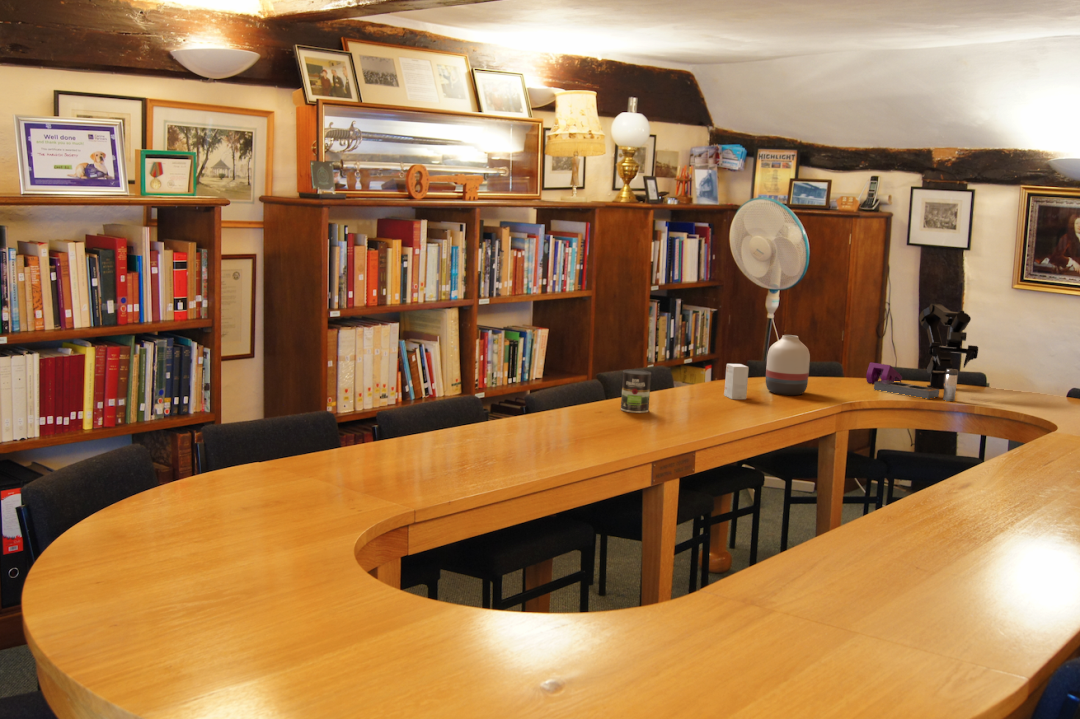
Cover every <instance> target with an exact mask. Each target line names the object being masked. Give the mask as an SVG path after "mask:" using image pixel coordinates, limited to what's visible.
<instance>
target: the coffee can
mask: <svg viewBox="0 0 1080 719" xmlns="http://www.w3.org/2000/svg"><path fill="white" fill-rule="evenodd" d="M651 379H652V372H651V371H647V370H643V369H624V370H622V381H621V382H622V383H621V386H622V387H621V398H620V399H621V400H620V411H622V412H625V413H632V414H645V413H648V412H650V410H649V408H650V392H651V383H652V382H651V381H652V380H651Z"/></svg>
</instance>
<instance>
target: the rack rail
mask: <svg viewBox="0 0 1080 719" xmlns="http://www.w3.org/2000/svg"><path fill="white" fill-rule="evenodd" d="M874 389H875V390H874ZM873 390H874V391H876V390H881V391H880V392H882V391H887V392H886V393H888V392H893V393H899V394H905V395H911V396H916V397H922V398H927V399H929V400H931V399H930V398H933V399H935V398H934V397H938V398H940V389H939V388H934V387H928V386H922V385H917V384H911V383H905V382H894V381H888V380H883V381H881V380H878V381H877V382H874V385H873ZM893 393H892V394H893ZM899 394H898V395H899ZM905 395H904V396H905ZM916 397H915V398H916ZM927 399H926V400H927Z"/></svg>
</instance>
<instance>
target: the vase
mask: <svg viewBox="0 0 1080 719" xmlns="http://www.w3.org/2000/svg"><path fill="white" fill-rule="evenodd" d="M781 336H782V337H781V338H780V339H778V340H777V341H776V342H774V343H773V344H771V346H770V347H769V349H768V352H767V355H766V356H767V357H766V369H765V370H766V371H765V387H766V389H767V390H768V391H769V392H771V393H773V394H776V395H782V396H799V395H802V394H804V393H805V392H806V390H807V387H808V382H809V375H810V361H811V354H810V351H809V350H810V349H809V348H808V347H807V346H806V345H805V344H804V343H803V342H802V341H801V340H800V339H799V336H798V335H792V334H784V335H783V334H782V335H781Z"/></svg>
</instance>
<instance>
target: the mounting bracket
mask: <svg viewBox="0 0 1080 719" xmlns="http://www.w3.org/2000/svg"><path fill="white" fill-rule="evenodd" d="M865 378H866V382H867V384H871V383H872V384H871V385H873V384H874V382H877V381H883V380H888V381H900V383H902V379H903V376H902V375H901V374H900V373H899V372H898V371H897V370H896V369H895V368H894V367H893V366H892V365H891V364H890V365H889V364H884V363H877V362H869V364H868V368H867V371H866V376H865Z"/></svg>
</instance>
